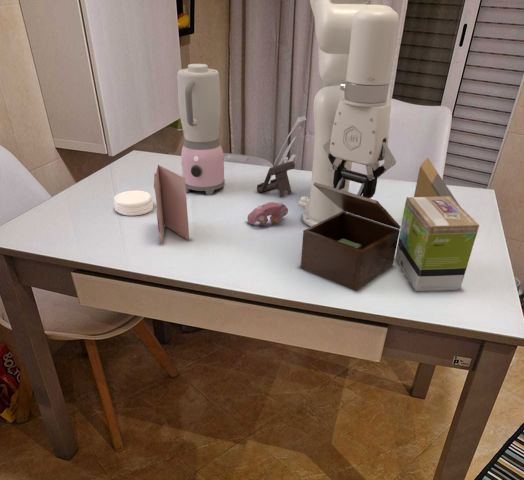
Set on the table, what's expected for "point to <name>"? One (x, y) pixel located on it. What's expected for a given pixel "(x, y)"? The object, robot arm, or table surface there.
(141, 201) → the coaster
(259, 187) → the tablet stand
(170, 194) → the greeting card
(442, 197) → the tea box
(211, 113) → the blender
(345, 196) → the lid
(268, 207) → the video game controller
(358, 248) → the green block
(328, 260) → the wooden box
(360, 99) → the robot arm
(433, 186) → the sandwich container
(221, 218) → the table surface
